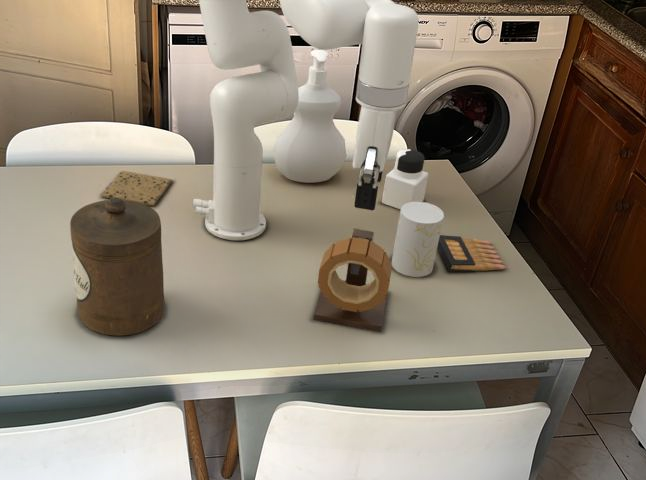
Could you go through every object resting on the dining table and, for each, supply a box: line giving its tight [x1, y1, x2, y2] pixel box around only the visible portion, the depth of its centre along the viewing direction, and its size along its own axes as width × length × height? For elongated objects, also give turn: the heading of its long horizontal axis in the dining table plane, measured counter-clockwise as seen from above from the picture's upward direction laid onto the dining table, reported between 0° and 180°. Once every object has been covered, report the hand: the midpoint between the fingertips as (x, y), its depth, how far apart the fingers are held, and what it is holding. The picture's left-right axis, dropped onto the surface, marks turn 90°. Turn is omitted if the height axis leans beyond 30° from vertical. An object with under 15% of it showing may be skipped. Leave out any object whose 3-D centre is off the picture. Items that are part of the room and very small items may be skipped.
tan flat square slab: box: [101, 170, 173, 207], centre depth 178 cm, size 12×12×1 cm
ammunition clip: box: [437, 234, 508, 273], centre depth 163 cm, size 11×2×12 cm
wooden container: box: [69, 197, 165, 337], centre depth 136 cm, size 15×15×22 cm
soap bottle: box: [272, 49, 347, 184], centre depth 180 cm, size 17×12×29 cm
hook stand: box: [313, 228, 388, 333], centre depth 144 cm, size 12×13×13 cm
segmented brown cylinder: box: [317, 236, 393, 312], centre depth 140 cm, size 12×5×12 cm, turn 78°
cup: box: [390, 201, 445, 278], centre depth 157 cm, size 8×8×12 cm
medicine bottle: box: [381, 148, 429, 211], centre depth 177 cm, size 7×7×12 cm
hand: (367, 193), depth 130 cm, fingers open, 9 cm apart
